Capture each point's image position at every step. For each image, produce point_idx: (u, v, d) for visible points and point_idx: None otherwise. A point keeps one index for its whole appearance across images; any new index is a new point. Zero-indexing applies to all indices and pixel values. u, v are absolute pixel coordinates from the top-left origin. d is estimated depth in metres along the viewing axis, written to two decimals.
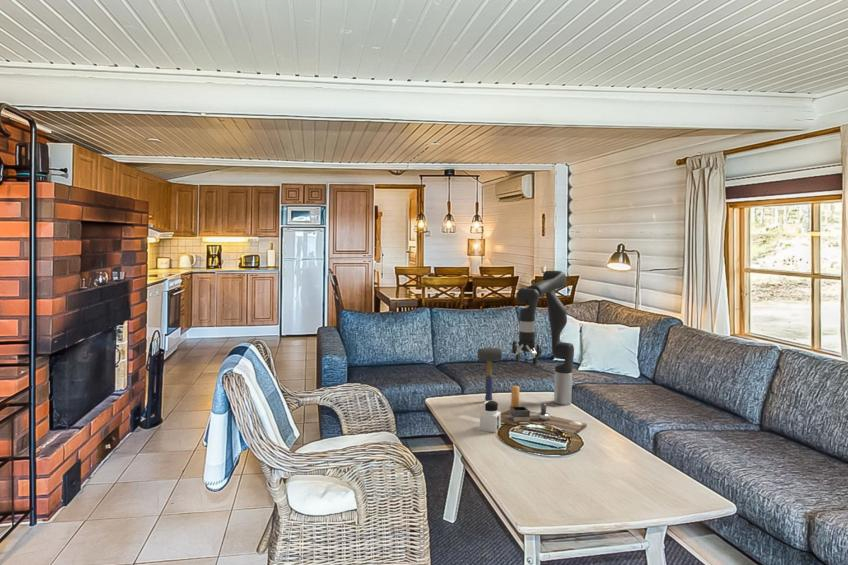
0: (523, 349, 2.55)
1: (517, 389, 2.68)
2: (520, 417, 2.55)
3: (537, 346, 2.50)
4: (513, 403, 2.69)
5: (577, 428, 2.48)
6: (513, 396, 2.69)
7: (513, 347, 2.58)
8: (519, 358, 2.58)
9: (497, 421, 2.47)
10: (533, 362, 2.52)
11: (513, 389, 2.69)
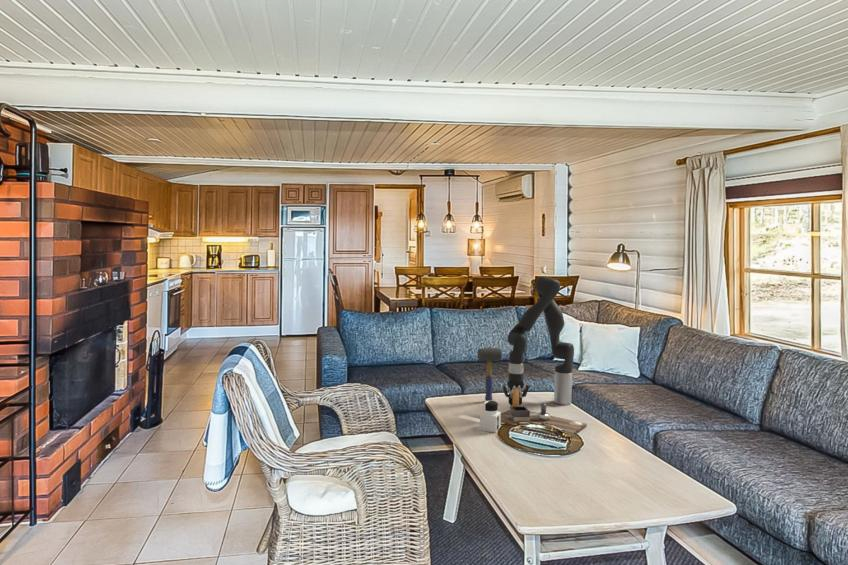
0: None
1: (517, 389, 2.68)
2: (520, 417, 2.55)
3: None
4: (513, 403, 2.69)
5: (577, 428, 2.48)
6: (513, 396, 2.69)
7: None
8: (519, 401, 2.70)
9: (497, 421, 2.47)
10: None
11: None
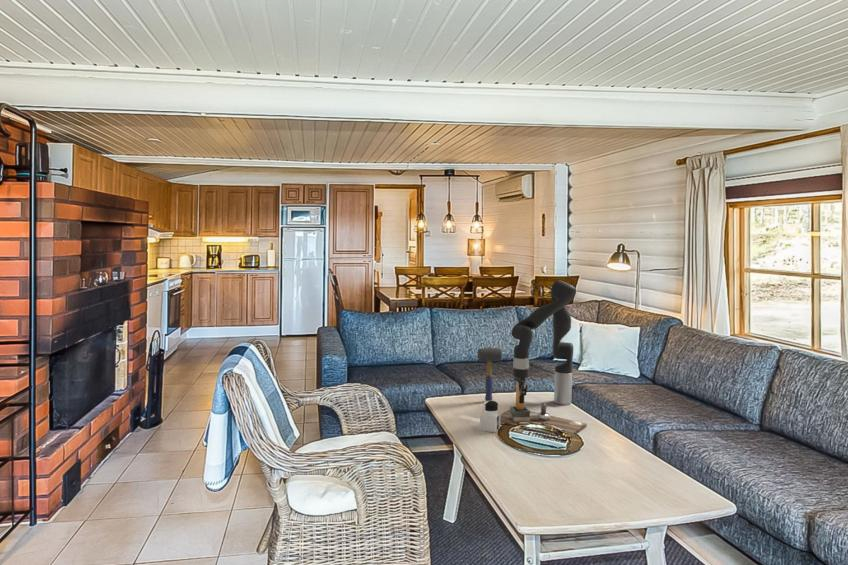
0: None
1: (516, 384, 2.57)
2: (520, 417, 2.55)
3: None
4: None
5: (577, 428, 2.48)
6: None
7: None
8: None
9: (497, 421, 2.47)
10: None
11: None
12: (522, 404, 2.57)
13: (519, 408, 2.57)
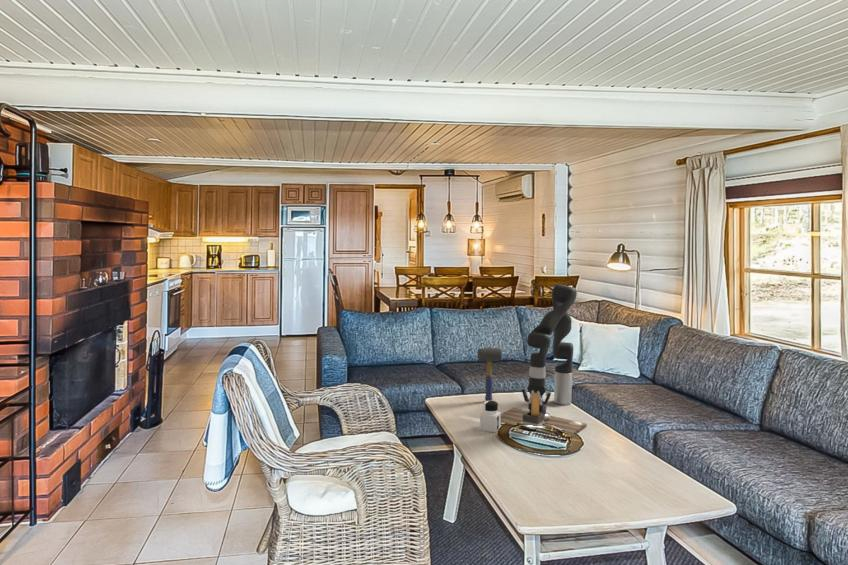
0: None
1: (536, 395, 2.47)
2: (540, 422, 2.48)
3: None
4: (531, 409, 2.49)
5: (577, 428, 2.48)
6: (532, 402, 2.49)
7: None
8: None
9: (497, 421, 2.47)
10: None
11: None
12: (539, 413, 2.50)
13: None
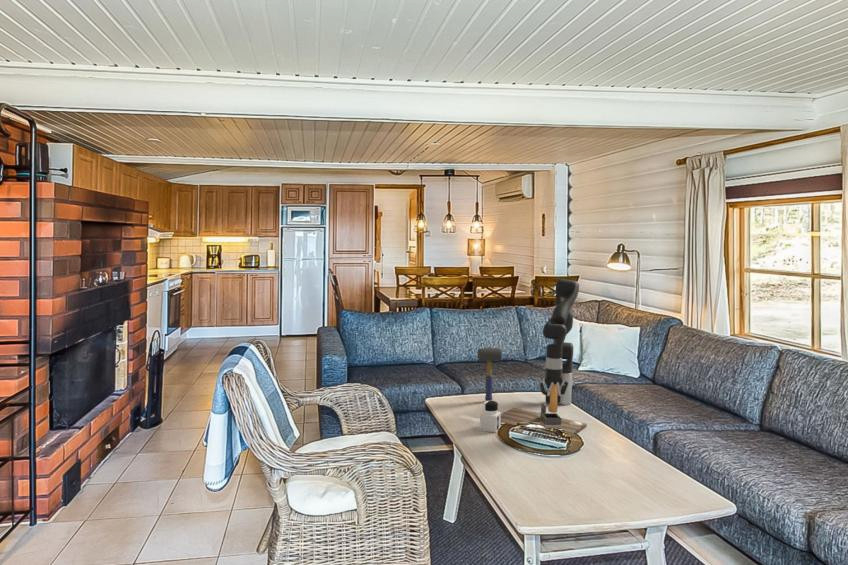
0: None
1: (555, 386, 2.45)
2: None
3: None
4: (551, 401, 2.46)
5: (577, 428, 2.48)
6: (551, 394, 2.46)
7: None
8: (557, 399, 2.48)
9: (497, 421, 2.47)
10: None
11: None
12: None
13: None
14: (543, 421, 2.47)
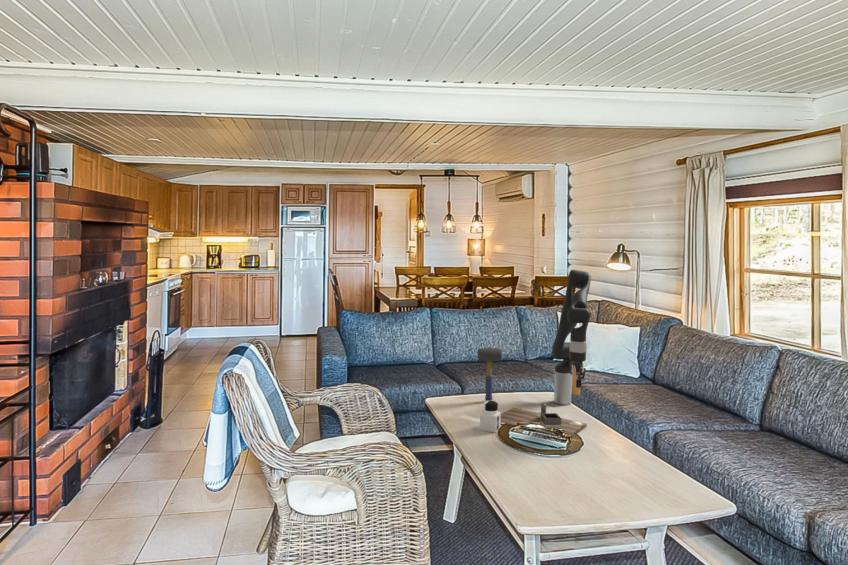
0: None
1: (573, 368, 2.51)
2: None
3: None
4: None
5: (577, 428, 2.48)
6: None
7: None
8: None
9: (497, 421, 2.47)
10: None
11: None
12: (578, 388, 2.51)
13: (575, 393, 2.51)
14: (543, 421, 2.47)
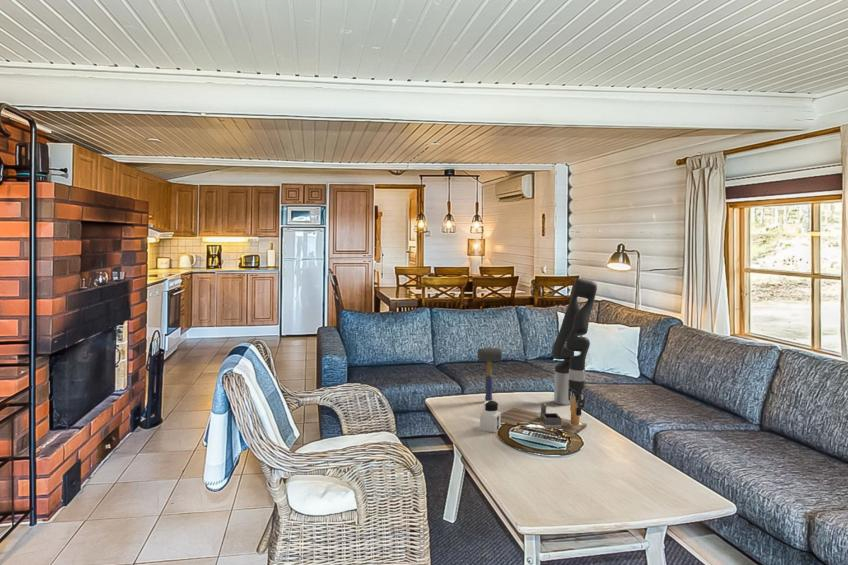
0: None
1: (572, 398, 2.52)
2: None
3: None
4: None
5: (577, 428, 2.48)
6: None
7: None
8: None
9: (497, 421, 2.47)
10: None
11: None
12: (577, 418, 2.52)
13: (574, 422, 2.52)
14: (543, 421, 2.47)
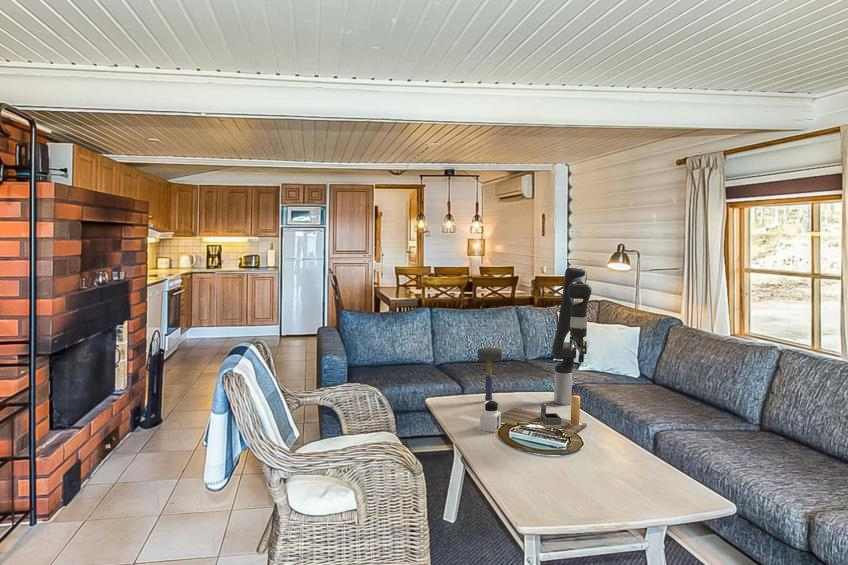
0: None
1: (572, 398, 2.52)
2: None
3: None
4: None
5: (577, 428, 2.48)
6: None
7: None
8: None
9: (497, 421, 2.47)
10: None
11: None
12: (577, 418, 2.52)
13: (574, 422, 2.52)
14: (543, 421, 2.47)
